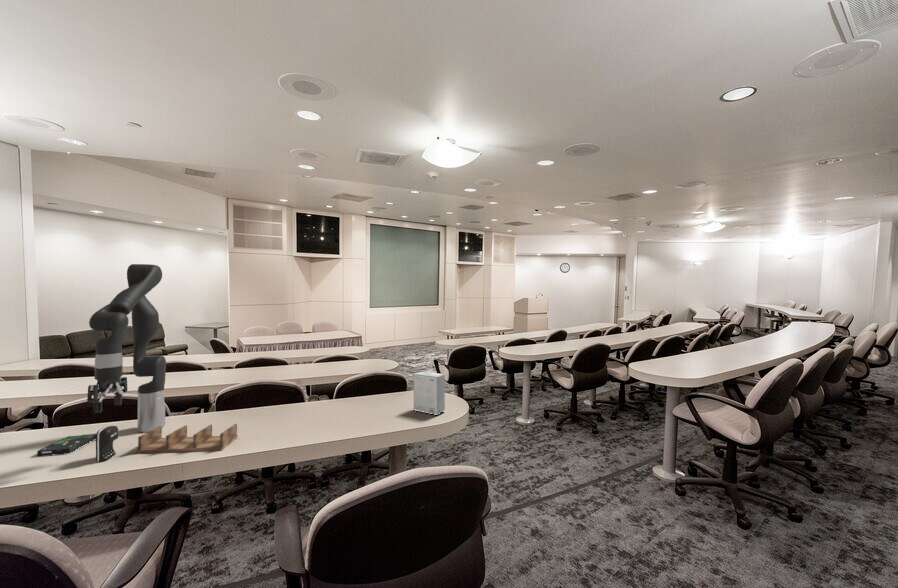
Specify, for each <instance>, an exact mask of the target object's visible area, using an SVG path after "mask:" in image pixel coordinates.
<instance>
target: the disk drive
mask: <svg viewBox="0 0 898 588" xmlns="http://www.w3.org/2000/svg"><path fill="white" fill-rule="evenodd" d="M94 439H96V433H91V434H82V435H73V436H72V435H68V436H67V437H64V438H61V439H59V440H57V441H55V442H53V443H50V444H49V445H47V446H44V447H43V448H40V449H39V450H37V452H36V453H37V454H36V456H38V457H43V456H42V455H49V456H53V455H52V454H60V455H65V454H64V453H70V454H72V453H74V452H76V451H77V450H76V449H78V448H79V447H81V446H83V445H85V444H87V443H88V444H90V443H91V442H90V441H92V442H93V440H94ZM94 441H95V440H94ZM89 442H90V443H89ZM88 444H87V445H88ZM85 446H86V445H85ZM83 447H84V446H83ZM81 448H82V447H81ZM79 449H80V448H79ZM79 449H78V450H79ZM75 450H76V451H75ZM73 451H74V452H73ZM71 452H72V453H71Z"/></svg>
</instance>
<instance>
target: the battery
mask: <svg viewBox="0 0 898 588" xmlns="http://www.w3.org/2000/svg"><path fill="white" fill-rule="evenodd" d="M95 434H96V440H95V462H96V463H99V462H105V461H108V460H110V459H112V456H113V457H114V456H115V455H116V454H117V451H115V449H114V441H115V440H118V438H119V427H118V426H116V425H107V426H103V428H100V429H99V430H98V431H96V433H95ZM109 458H110V459H109Z"/></svg>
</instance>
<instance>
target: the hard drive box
mask: <svg viewBox="0 0 898 588" xmlns="http://www.w3.org/2000/svg"><path fill="white" fill-rule="evenodd" d="M445 379H446V377H445V373H444V374H443V373H436V372H428V371H427V372H426V371H420V372H416V373H413V410H414V409H416V410H420V411H424V412H428V413H432V414H436V415H437V414H439V413H441V412H443V411H444V410H445V411H446V405H445V404H446V402H445V401H446V399H445V398H446V397H445V396H446V394H445V393H446V392H445V391H446V390H445V388H446V387H445Z"/></svg>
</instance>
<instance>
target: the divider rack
mask: <svg viewBox="0 0 898 588" xmlns="http://www.w3.org/2000/svg"><path fill="white" fill-rule="evenodd" d="M162 431H163V427H162V426H160V427H157V428H155V429H153V430H151V431H149V432H144V433H142V434H141V435H139V436H138V437H137V438H138V439H137V440H138V442H137V443H138V444H137V448H138V449H137V450H136V454H137V453H140V454H160V453H162V452H166V453H185V452H186V451H190V452H189V453H191V451H192V452H209V451H208V450H218V451H223V450H224V449H225V447H226V446H227V445H228V446H230V445H231V444H232V443H233V442H235V441H236V440H237V439H238V438H237V437H238V424H237V423H235V424H233V425H230V427H229V428H227V429H225V430H224V431H223V432H221V433H220V434H219V435H213V424H209V425H207V426H206V427H204V428H202V429H200V430H199V431H197V432H196V433H194V434H193V435H192V436H188V425H184V426H181V427H180V428H178V429H176V430H174V431H172V432H171V433H169V434H167V435H165V437H162V434H163V432H162ZM236 438H237V439H236ZM235 439H236V440H235ZM234 440H235V441H234ZM232 441H233V442H232ZM231 442H232V443H231ZM230 443H231V444H230ZM228 446H227V447H228ZM227 447H226V448H227ZM222 449H223V450H222ZM186 453H187V452H186ZM162 454H163V453H162Z"/></svg>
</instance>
